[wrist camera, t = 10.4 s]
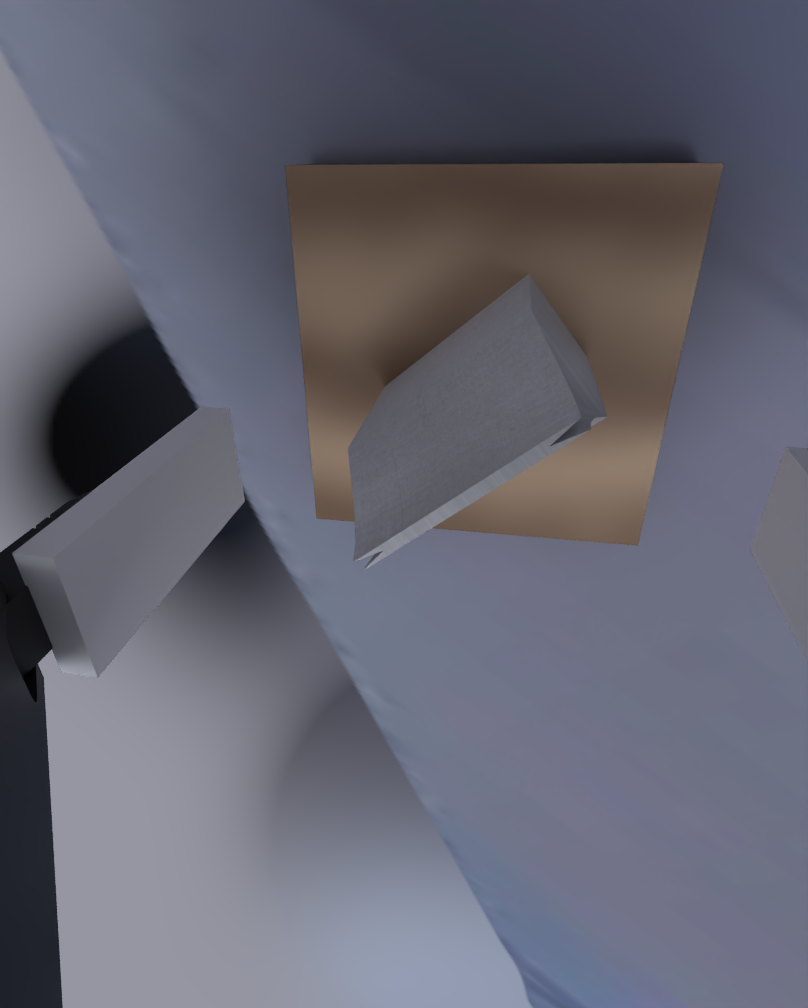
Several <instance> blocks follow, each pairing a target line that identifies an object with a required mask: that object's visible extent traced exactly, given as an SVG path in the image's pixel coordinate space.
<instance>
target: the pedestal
mask: <svg viewBox="0 0 808 1008" xmlns="http://www.w3.org/2000/svg"><path fill="white" fill-rule="evenodd" d="M723 165H724V163H499V164H306V165H285V171H286V182H287V193H288V204H289V215H290V226H291V238H292V249H293V260H294V271H295V282H296V293H297V305H298V316H299V327H300V338H301V349H302V360H303V372H304V383H305V394H306V405H307V416H308V427H309V439H310V450H311V461H312V472H313V483H314V495H315V506H316V517H317V518H318V519H330V520H342V521H353V522H355V513H354V503H353V494H352V485H351V475H350V466H349V457H348V447H349V445H350V444H351V442H352V440H353V439H354V437H355V435H356V434H357V432H358V430H359V429H360V427H361V425H362V424H363V422H364V420H365V419H366V417H367V415H368V414H369V412H370V410H371V409H372V407H373V405H374V404H375V402H376V400H377V399H378V397H379V395H380V394H381V392H382V390H383V389H384V387H385V386H386V385H388V384H389V383H390V382H391V381H393V380H394V379H395V378H396V377H398V376H399V375H400V374H402V373H403V372H404V371H405V370H407V369H408V368H409V367H410V366H412V365H413V364H414V363H416V362H417V361H418V360H419V359H421V358H422V357H423V356H424V355H426V354H427V353H428V352H430V351H431V350H432V349H433V348H435V347H436V346H437V345H438V344H440V343H441V342H442V341H444V340H445V339H446V338H447V337H449V336H450V335H451V334H452V333H454V332H455V331H456V330H458V329H459V328H460V327H461V326H463V325H464V324H465V323H466V322H468V321H469V320H470V319H472V318H473V317H474V316H475V315H477V314H478V313H479V312H480V311H482V310H483V309H484V308H486V307H487V306H488V305H489V304H491V303H492V302H493V301H495V300H496V299H497V298H498V297H500V296H501V295H502V294H503V293H505V292H506V291H507V290H509V289H510V288H511V287H512V286H514V285H515V284H516V283H517V282H519V281H520V280H521V279H523V278H524V277H525V276H526V275H528V274H530V276H531V277H532V278H533V280H534V281H535V283H536V284H537V286H538V287H539V288H540V290H541V291H542V293H543V294H544V296H545V297H546V298H547V300H548V301H549V303H550V304H551V306H552V307H553V309H554V310H555V311H556V313H557V314H558V316H559V317H560V319H561V320H562V321H563V323H564V324H565V326H566V327H567V329H568V330H569V331H570V333H571V334H572V336H573V337H574V339H575V340H576V341H577V343H578V344H579V346H580V347H581V349H582V350H583V351H584V353H585V354H586V356H587V357H588V360H589V363H590V366H591V369H592V372H593V375H594V378H595V381H596V384H597V387H598V390H599V393H600V396H601V399H602V402H603V405H604V408H605V411H606V414H607V416H608V417H606V418H605V419H603V420H602V421H600V422H598V423H597V424H595V425H594V426H592V427H591V430H589V431H588V432H586V433H584V434H583V435H581V436H580V437H578V438H576V439H575V440H573V441H572V442H570V443H568V444H567V445H565V446H563V447H562V448H560V449H559V450H557V451H555V452H554V453H552V454H551V455H549V456H547V457H546V458H544V459H542V460H541V461H539V462H538V463H536V464H534V465H533V466H531V467H530V468H528V469H526V470H525V471H523V472H522V473H520V474H518V475H517V476H515V477H513V478H512V479H510V480H509V481H507V482H505V483H504V484H502V485H501V486H499V487H497V488H496V489H494V490H493V491H491V492H489V493H488V494H486V495H484V496H483V497H481V498H480V499H478V500H476V501H475V502H473V503H472V504H470V505H468V506H467V507H465V508H464V509H462V510H460V511H459V512H457V513H455V514H454V515H452V516H451V517H449V518H447V519H446V520H444V521H443V522H441V523H439V524H438V525H436V526H435V527H433V528H436V529H448V530H460V531H472V532H484V533H495V534H507V535H519V536H531V537H543V538H555V539H567V540H578V541H590V542H602V543H614V544H626V545H638V543H639V538H640V534H641V530H642V525H643V521H644V516H645V512H646V507H647V503H648V498H649V494H650V489H651V485H652V481H653V476H654V472H655V467H656V463H657V458H658V454H659V449H660V445H661V441H662V436H663V432H664V427H665V423H666V418H667V414H668V409H669V405H670V400H671V396H672V392H673V387H674V383H675V378H676V374H677V369H678V365H679V360H680V356H681V352H682V347H683V343H684V338H685V334H686V329H687V325H688V320H689V316H690V311H691V307H692V303H693V298H694V294H695V289H696V285H697V280H698V276H699V271H700V267H701V262H702V258H703V254H704V249H705V245H706V240H707V236H708V231H709V227H710V222H711V218H712V214H713V209H714V205H715V200H716V196H717V191H718V187H719V182H720V178H721V173H722V169H723Z"/></svg>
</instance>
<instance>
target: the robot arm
mask: <svg viewBox="0 0 808 1008" xmlns="http://www.w3.org/2000/svg"><path fill="white" fill-rule="evenodd" d="M244 501H245V500H244V494H243V488H242V482H241V476H240V470H239V464H238V458H237V452H236V446H235V440H234V434H233V427H232V421H231V415H230V409H229V408H215V407H201V408H199V409H198V410H197V411H195V412H194V413H193V414H192V415H190V416H189V417H188V418H186V419H185V420H184V421H182V422H181V423H180V424H179V425H177V426H176V427H175V428H173V429H172V430H171V431H170V432H168V433H167V434H166V435H164V436H163V437H162V438H161V439H159V440H158V441H157V442H155V443H154V444H153V445H151V446H150V447H149V448H148V449H146V450H145V451H144V452H142V453H141V454H140V455H138V456H137V457H136V458H135V459H133V460H132V461H131V462H129V463H128V464H127V465H126V466H124V467H123V468H122V469H120V470H119V471H118V472H117V473H115V474H114V475H113V476H111V477H110V478H109V479H107V480H106V481H105V482H104V483H102V484H101V485H100V486H98V487H97V488H96V489H94V490H93V491H90V492H88V493H86V494H83V495H81V496H79V497H77V498H75V499H73V500H70V501H68V502H67V503H66V504H64V505H63V506H61V507H60V508H59V509H57V510H56V511H55V512H53V513H52V514H51V515H50V518H48V517H47V518H46V519H44V520H43V521H42V522H40V523H39V524H38V525H36V529H34V528H32V529H31V530H30V531H29V532H27V533H26V534H24V535H23V536H22V537H20V538H19V539H18V540H16V541H15V542H14V543H12V544H11V545H10V546H8V547H7V548H6V549H4V550H3V551H2V552H0V1008H62V990H61V972H60V955H59V937H58V920H57V902H56V886H55V867H54V851H53V833H52V815H51V797H50V780H49V763H48V745H47V728H46V710H45V694H44V677H43V675H42V673H41V670H40V668H39V666H38V663H39V662H40V660H41V659H42V658H43V657H44V656H45V655H46V654H47V653H48V652H49V651H50V650H51V649H52V650H53V653H54V655H55V658H56V660H57V663H58V665H59V667H60V670H61V672H64V673H70V674H77V675H83V676H90V677H95V678H98V677H99V676H100V674H101V673H102V672H103V671H104V670H105V668H106V667H107V666H108V665H109V664H110V662H111V661H112V660H113V659H114V658H115V656H116V655H117V654H118V653H119V652H120V650H121V649H122V648H123V647H124V646H125V644H126V643H127V642H128V641H129V639H130V638H131V637H132V636H133V635H134V634H135V632H136V631H137V630H138V629H139V627H140V626H141V625H142V624H143V623H144V622H145V620H146V619H147V618H148V617H149V616H150V614H151V613H152V612H153V611H154V610H155V608H156V607H157V606H158V604H160V602H161V601H162V600H163V599H164V598H165V596H166V595H167V594H168V593H169V592H170V590H171V589H172V588H173V587H174V585H175V584H176V583H177V582H178V581H179V579H180V578H181V577H182V576H183V575H184V573H185V572H186V571H187V570H188V569H189V567H190V566H191V565H192V564H193V563H194V561H195V560H196V559H197V558H198V556H199V555H200V554H201V553H202V552H203V551H204V549H205V548H206V547H207V546H208V545H209V543H210V542H211V541H212V540H213V539H214V537H215V536H216V535H217V534H218V533H219V531H220V530H221V529H222V528H223V527H224V525H225V524H226V523H227V522H228V520H229V519H230V518H231V517H232V516H233V515H234V513H235V512H236V511H237V510H238V508H239V507H240V506H241V505H242V504H243V502H244ZM750 551H751V553H752V555H753V557H754V559H755V561H756V562H757V564H758V566H759V568H760V570H761V572H762V574H763V576H764V578H765V580H766V582H767V584H768V586H769V588H770V590H771V592H772V594H773V596H774V598H775V599H776V601H777V603H778V605H779V607H780V609H781V611H782V613H783V615H784V617H785V619H786V621H787V623H788V625H789V627H790V629H791V631H792V633H793V635H794V636H795V638H796V640H797V642H798V644H799V646H800V648H801V650H802V652H803V654H804V656H805V658H806V660H807V662H808V449H806V448H791V447H786V448H785V451H784V454H783V457H782V460H781V463H780V465H779V468H778V471H777V474H776V477H775V480H774V483H773V486H772V488H771V491H770V494H769V497H768V500H767V503H766V506H765V509H764V511H763V514H762V517H761V520H760V523H759V526H758V529H757V532H756V535H755V537H754V540H753V543H752V546H751V549H750Z"/></svg>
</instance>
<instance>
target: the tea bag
mask: <svg viewBox="0 0 808 1008" xmlns="http://www.w3.org/2000/svg"><path fill="white" fill-rule="evenodd" d="M606 417H608V416H607V414H606V411H605V408H604V405H603V402H602V399H601V396H600V393H599V390H598V387H597V384H596V381H595V378H594V375H593V372H592V369H591V366H590V363H589V360H588V357H587V356H586V354H585V353H584V351H583V350H582V349H581V347H580V346H579V344H578V343H577V341H576V340H575V339H574V337H573V336H572V334H571V333H570V331H569V330H568V329H567V327H566V326H565V324H564V323H563V321H562V320H561V319H560V317H559V316H558V314H557V313H556V311H555V310H554V309H553V307H552V306H551V304H550V303H549V301H548V300H547V298H546V297H545V296H544V294H543V293H542V291H541V290H540V288H539V287H538V286H537V284H536V283H535V281H534V280H533V278H532V277H531V276H530V274H528V275H526V276H525V277H524V278H523V279H521V280H520V281H519V282H517V283H516V284H515V285H514V286H512V287H511V288H510V289H509V290H507V291H506V292H505V293H503V294H502V295H501V296H500V297H498V298H497V299H496V300H495V301H493V302H492V303H491V304H489V305H488V306H487V307H486V308H484V309H483V310H482V311H480V312H479V313H478V314H477V315H475V316H474V317H473V318H472V319H470V320H469V321H468V322H466V323H465V324H464V325H463V326H461V327H460V328H459V329H458V330H456V331H455V332H454V333H452V334H451V335H450V336H449V337H447V338H446V339H445V340H444V341H442V342H441V343H440V344H438V345H437V346H436V347H435V348H433V349H432V350H431V351H430V352H428V353H427V354H426V355H424V356H423V357H422V358H421V359H419V360H418V361H417V362H416V363H414V364H413V365H412V366H410V367H409V368H408V369H407V370H405V371H404V372H403V373H402V374H400V375H399V376H398V377H396V378H395V379H394V380H393V381H391V382H390V383H389V384H388V385H386V386H385V387H384V389H383V390H382V392H381V394H380V395H379V397H378V399H377V400H376V402H375V404H374V405H373V407H372V409H371V410H370V412H369V414H368V415H367V417H366V419H365V420H364V422H363V424H362V425H361V427H360V429H359V430H358V432H357V434H356V435H355V437H354V439H353V440H352V442H351V444H350V445H349V447H348V457H349V466H350V475H351V485H352V494H353V503H354V513H355V540H356V543H355V551H354V560H353V562H355V561H358V560H360V559H363V558H365V557H368V556H371V555H373V554H374V556H373V557H372V559H371V560H370V561H369V563H368V564H367V565H366V567H365V568H364V570H365V569H367V568H368V567H370V566H372V565H373V564H375V563H377V562H378V561H380V560H381V559H383V558H385V557H386V556H388V555H389V554H391V553H393V552H394V551H396V550H397V549H399V548H401V547H402V546H404V545H406V544H407V543H409V542H410V541H412V540H414V539H415V538H417V537H418V536H420V535H422V534H423V533H425V532H426V531H428V530H430V529H431V528H433V527H435V526H436V525H438V524H439V523H441V522H443V521H444V520H446V519H447V518H449V517H451V516H452V515H454V514H455V513H457V512H459V511H460V510H462V509H464V508H465V507H467V506H468V505H470V504H472V503H473V502H475V501H476V500H478V499H480V498H481V497H483V496H484V495H486V494H488V493H489V492H491V491H493V490H494V489H496V488H497V487H499V486H501V485H502V484H504V483H505V482H507V481H509V480H510V479H512V478H513V477H515V476H517V475H518V474H520V473H522V472H523V471H525V470H526V469H528V468H530V467H531V466H533V465H534V464H536V463H538V462H539V461H541V460H542V459H544V458H546V457H547V456H549V455H551V454H552V453H554V452H555V451H557V450H559V449H560V448H562V447H563V446H565V445H567V444H568V443H570V442H572V441H573V440H575V439H576V438H578V437H580V436H581V435H583V434H584V433H586V432H588V431H589V430H591V427H592V426H594V425H595V424H597V423H598V422H600V421H602V420H603V419H605V418H606ZM364 570H363V571H364Z"/></svg>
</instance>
